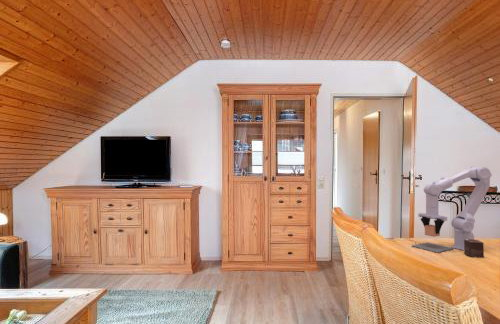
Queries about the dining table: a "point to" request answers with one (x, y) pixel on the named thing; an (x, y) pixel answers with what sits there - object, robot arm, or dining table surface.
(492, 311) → the dining table surface
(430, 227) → the cube
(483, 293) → the dining table surface
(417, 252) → the dining table surface
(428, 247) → the mat
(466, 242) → the box
